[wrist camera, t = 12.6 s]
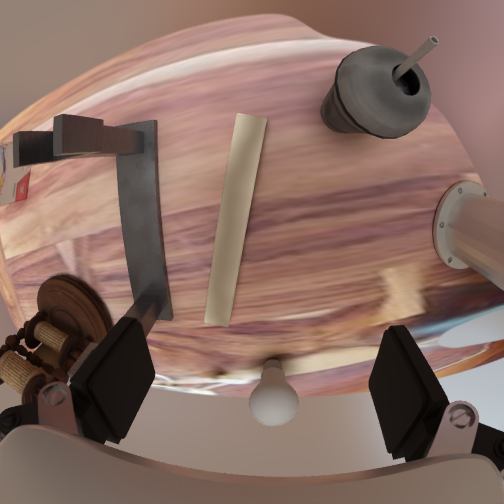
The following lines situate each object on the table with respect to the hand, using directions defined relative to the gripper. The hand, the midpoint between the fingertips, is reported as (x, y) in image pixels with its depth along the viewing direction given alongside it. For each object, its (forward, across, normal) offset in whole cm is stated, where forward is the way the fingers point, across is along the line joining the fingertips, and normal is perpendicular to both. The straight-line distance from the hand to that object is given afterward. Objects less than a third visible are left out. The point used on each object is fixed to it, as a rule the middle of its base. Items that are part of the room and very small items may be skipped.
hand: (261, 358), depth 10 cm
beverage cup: (+23, -8, -13) cm, 27 cm away
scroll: (+21, +30, +14) cm, 40 cm away
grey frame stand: (+22, +15, 0) cm, 27 cm away
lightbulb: (+23, 0, +20) cm, 30 cm away
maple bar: (+23, +4, 0) cm, 23 cm away
